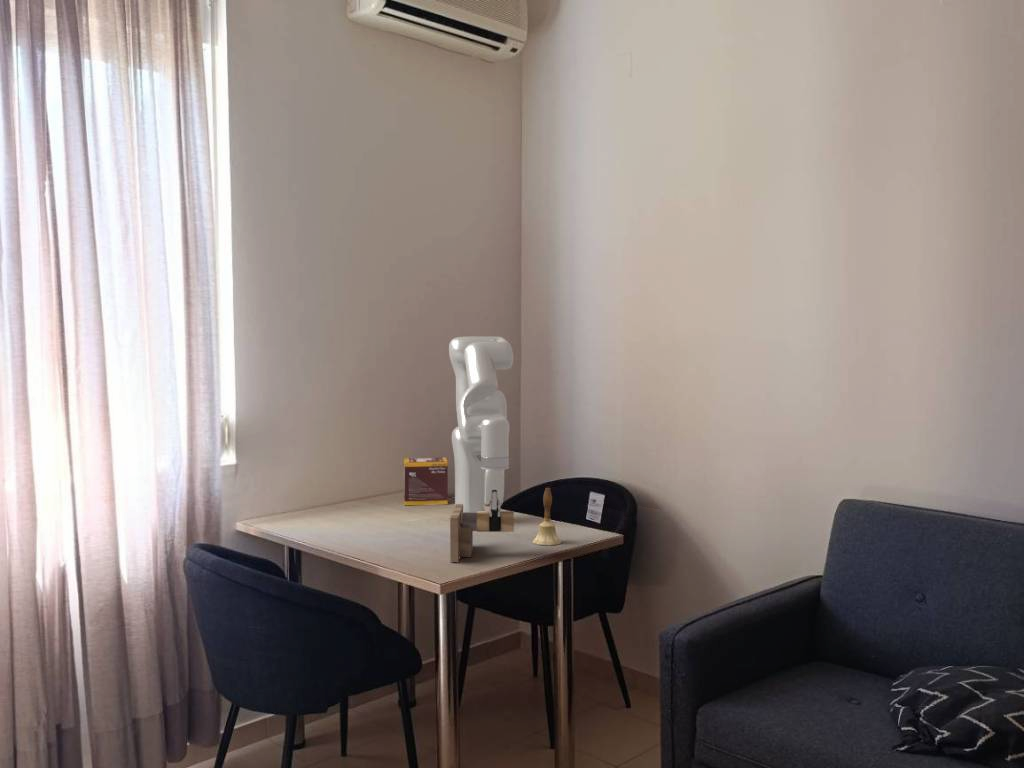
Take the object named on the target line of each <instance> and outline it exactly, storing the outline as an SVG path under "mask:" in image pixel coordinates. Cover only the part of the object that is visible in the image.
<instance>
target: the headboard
mask: <svg viewBox="0 0 1024 768" xmlns="http://www.w3.org/2000/svg"><path fill="white" fill-rule="evenodd" d="M462 513H463V504H456V506H455V505H454V508H453V511H452V513H451V516H450V517H449V521H450V522H449V524H450V525H449V526H450V527H449V528H450V530H449V533H450V537H449V538H450V539H449V540H450V541H449V542H450V543H449V544H450V552H449V553H450V563H451V562H458V561H460V558H459V557H472V553H473V551H474V550H473V549H474V544H473V543H474V538H473V537H474V535H473V533H474V531H471V526H462ZM472 550H473V551H472ZM458 563H459V562H458Z"/></svg>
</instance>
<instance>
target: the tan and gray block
mask: <svg viewBox="0 0 1024 768" xmlns="http://www.w3.org/2000/svg"><path fill="white" fill-rule="evenodd" d="M514 514H515V511H513V510H511V511H509V510H506V511H505V510H504V511H503V510H501V511H500V516H501V531H489V516H490V510H488V511H487V510H485V511H477V512H463V513H462V526H471V531H473V532H476V533H477V532H478V533H479V532H480V533H484V532H485V533H490V532H491V533H492V532H493V533H499V532H500V533H510V532H511V533H514V532H515V531H514V529H515V524H514V523H515V521H514V520H515V515H514Z"/></svg>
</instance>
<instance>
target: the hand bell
mask: <svg viewBox="0 0 1024 768" xmlns="http://www.w3.org/2000/svg"><path fill="white" fill-rule="evenodd" d="M542 501H543V507H544V518H543V521H542V522H541V523H540V524H539V526H538V532H537V535H536V537H535V538H534V539H533V541H532V544H534V545H538V546H545V547H546V546H557V545H558V546H559V545H561V544H562V540H561V539H560V538H559V537H558V535H557V531H556V526H555V523H553V522H552V521H551V507H552V503H553V495H552V491H551V488H550V487H545V490H544V493H543V497H542Z"/></svg>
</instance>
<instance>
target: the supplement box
mask: <svg viewBox="0 0 1024 768" xmlns="http://www.w3.org/2000/svg"><path fill="white" fill-rule="evenodd" d="M448 462H449V461H448V460H447V458H446V457H444V456H443V457H411V458H407V457H406V458H403V503H404V504H405V505H417V506H425V505H424V504H449V503H448V502H449V497H448V491H449V490H448V489H449V488H448V486H449V485H448V483H449V482H448V480H449V479H448V478H449V477H448V475H449V474H448V470H449V469H448V467H449V466H448V464H449V463H448ZM405 505H404V506H405Z"/></svg>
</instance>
